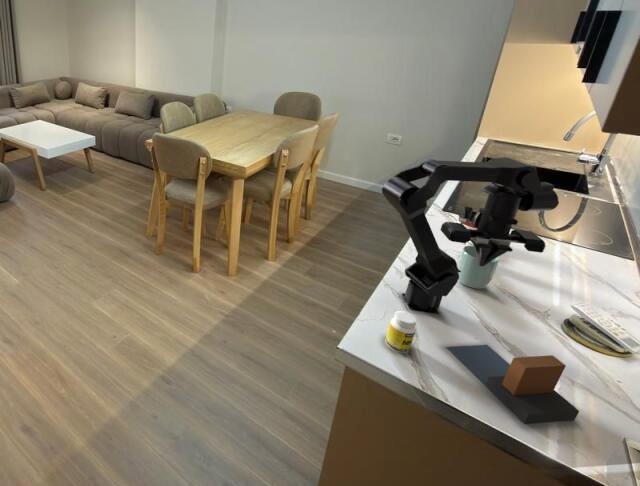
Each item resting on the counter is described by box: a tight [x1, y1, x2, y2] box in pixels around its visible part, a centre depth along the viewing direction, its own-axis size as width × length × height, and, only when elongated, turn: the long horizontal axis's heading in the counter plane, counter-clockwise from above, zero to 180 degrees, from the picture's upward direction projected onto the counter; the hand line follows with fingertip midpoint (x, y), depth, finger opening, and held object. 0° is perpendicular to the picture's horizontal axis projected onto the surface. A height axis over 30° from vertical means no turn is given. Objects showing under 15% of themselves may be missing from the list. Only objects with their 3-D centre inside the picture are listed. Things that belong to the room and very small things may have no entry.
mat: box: [445, 344, 576, 425], centre depth 81 cm, size 18×10×1 cm, turn 3°
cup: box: [457, 245, 500, 289], centre depth 109 cm, size 8×8×10 cm
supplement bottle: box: [384, 310, 417, 354], centre depth 89 cm, size 5×5×8 cm
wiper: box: [484, 354, 580, 424], centre depth 75 cm, size 8×10×9 cm
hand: (480, 265), depth 99 cm, fingers closed
